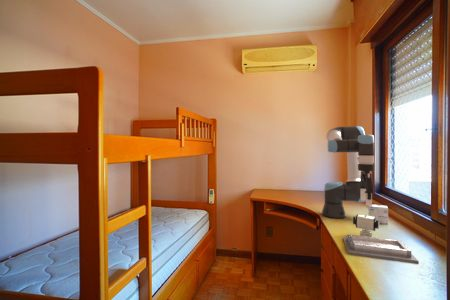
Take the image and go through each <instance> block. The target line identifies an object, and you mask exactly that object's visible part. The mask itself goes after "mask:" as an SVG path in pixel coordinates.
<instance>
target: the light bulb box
mask: <svg viewBox="0 0 450 300" xmlns="http://www.w3.org/2000/svg"><path fill="white" fill-rule="evenodd" d="M388 207H389V206H388V205H383V204H382V205H381V204H372V206H368V216H371V217H376V219H377V220H379V224H384V225H389V208H388Z"/></svg>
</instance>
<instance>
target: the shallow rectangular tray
mask: <svg viewBox="0 0 450 300" xmlns="http://www.w3.org/2000/svg"><path fill="white" fill-rule="evenodd" d="M346 237H347V241H348V244H349V246H350V249H353V250H360V251H368V252H376V253H384V254H391V255H399V256H407V257H411V254H412V250H411V249H410V248H409V247H408V246H407V245H406V244H405V243H404V242H403V241H402V240H398V239H397V240H396V239H390V238H389V239H388V238H387V239H386V238H379V237H373V236H372V237H363V236H361V235H353V234H346Z"/></svg>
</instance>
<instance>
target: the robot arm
mask: <svg viewBox="0 0 450 300" xmlns="http://www.w3.org/2000/svg"><path fill="white" fill-rule="evenodd" d="M326 139H327V152H328V153H346V161H347V162H346V163H347V165H346V166H347V180H345V183H343V181H330V182H329V181H328V182H326V183H325V184H324V190H323V191H324V204H323V206H322V207H323V208H322V211H321V214H322V216H325V217H328V218H331V219H332V218H333V219H335V218H336V219H340V218H341V219H343V218H346V210H345V208H344V206H343V205H344V204H343V202H353V203H364V202H365V206H367V207H369V206H372V205H373V194H374V188H373V187H374V186H373V178H372V177H373V174H372V173H371V172H374V171H375V164H374V163H375V136H374V135H373V134H366V133H365V130H364V128H363V127H362V126H358V125H357V126H356V125H354V126H353V125H352V126H337V127H333V128H331V129H329V130H328V132H327V134H326Z"/></svg>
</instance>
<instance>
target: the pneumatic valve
mask: <svg viewBox="0 0 450 300" xmlns="http://www.w3.org/2000/svg"><path fill="white" fill-rule="evenodd" d="M352 224H353V225H354V226H355V228H356V229H362V230H360V231H359V234H360V235H359V236H363V237H372V238H373V233H372V232H376V230H378V229H379V228H380V223H379V220H377V219H376V217H371V216H369V215H368V214H356V215H355V216H353V218H352Z"/></svg>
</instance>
